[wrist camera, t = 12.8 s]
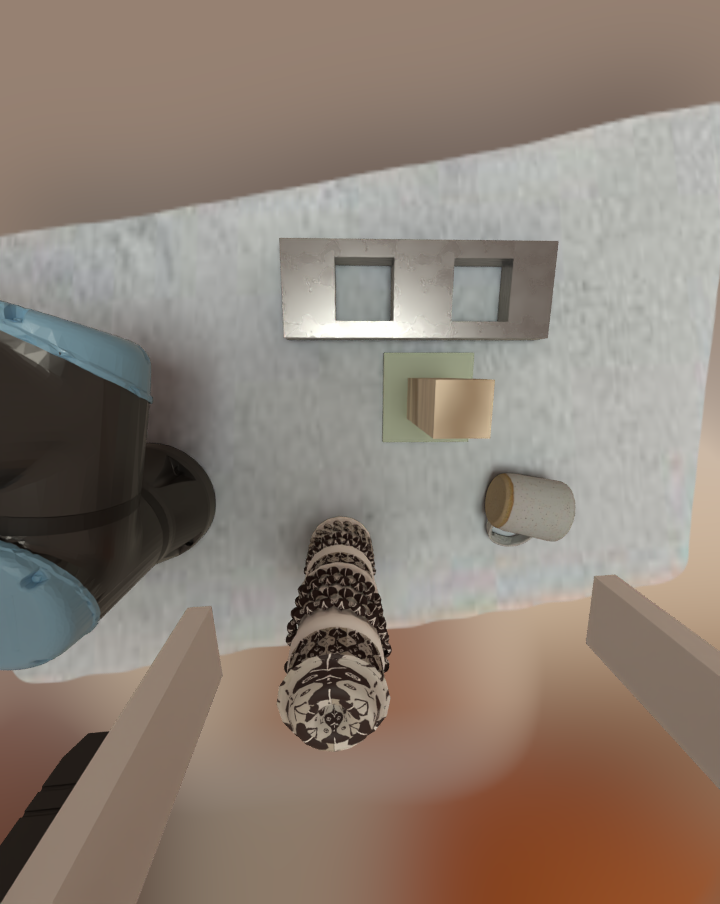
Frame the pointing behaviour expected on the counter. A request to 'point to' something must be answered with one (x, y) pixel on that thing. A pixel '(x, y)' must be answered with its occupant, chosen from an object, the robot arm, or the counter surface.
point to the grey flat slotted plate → (417, 288)
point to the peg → (451, 406)
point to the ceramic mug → (528, 508)
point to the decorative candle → (336, 643)
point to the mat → (396, 389)
